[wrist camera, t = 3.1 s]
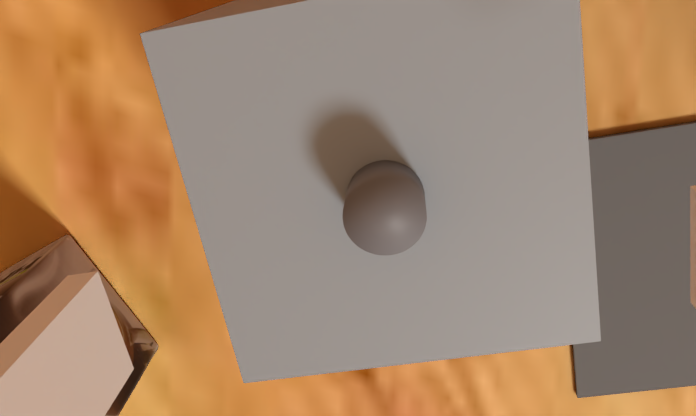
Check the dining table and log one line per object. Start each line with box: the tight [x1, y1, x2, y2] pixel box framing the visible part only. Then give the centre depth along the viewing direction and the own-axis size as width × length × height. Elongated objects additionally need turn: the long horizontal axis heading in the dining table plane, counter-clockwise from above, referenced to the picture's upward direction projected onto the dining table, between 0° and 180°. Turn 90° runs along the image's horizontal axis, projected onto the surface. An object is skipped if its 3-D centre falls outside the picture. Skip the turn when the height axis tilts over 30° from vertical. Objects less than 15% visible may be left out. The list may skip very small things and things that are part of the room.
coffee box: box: [0, 235, 158, 416], centre depth 33 cm, size 9×6×16 cm
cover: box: [140, 0, 601, 383], centre depth 26 cm, size 12×12×16 cm
